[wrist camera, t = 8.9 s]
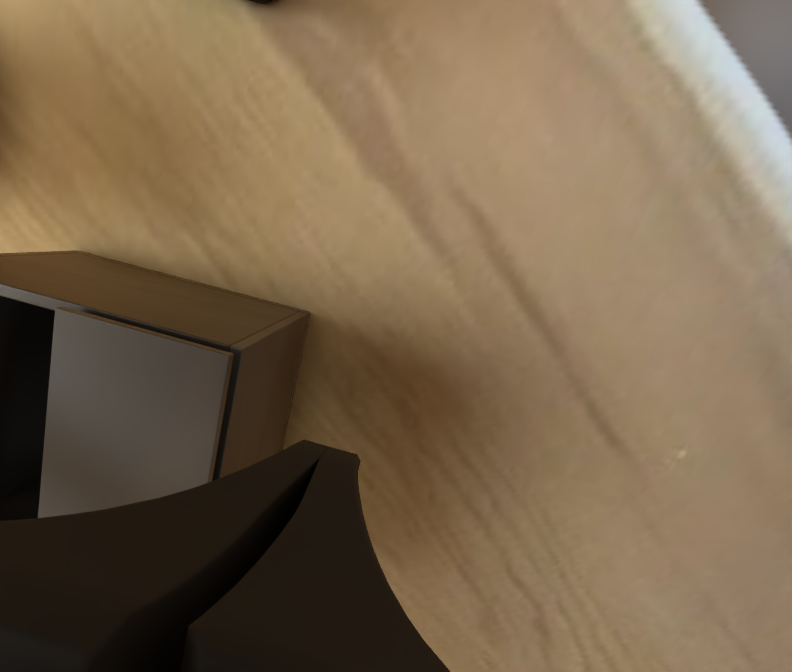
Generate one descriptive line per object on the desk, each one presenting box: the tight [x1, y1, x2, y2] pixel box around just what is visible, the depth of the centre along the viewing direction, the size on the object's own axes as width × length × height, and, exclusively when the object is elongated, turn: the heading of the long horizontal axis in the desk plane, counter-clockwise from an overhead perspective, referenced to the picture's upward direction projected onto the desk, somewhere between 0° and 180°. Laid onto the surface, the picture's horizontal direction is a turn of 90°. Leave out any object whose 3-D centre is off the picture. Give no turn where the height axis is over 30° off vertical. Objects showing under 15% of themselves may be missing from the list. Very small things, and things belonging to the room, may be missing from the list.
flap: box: [38, 307, 234, 518], centre depth 15 cm, size 11×5×1 cm, turn 166°
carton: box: [0, 251, 310, 521], centre depth 19 cm, size 11×11×7 cm
